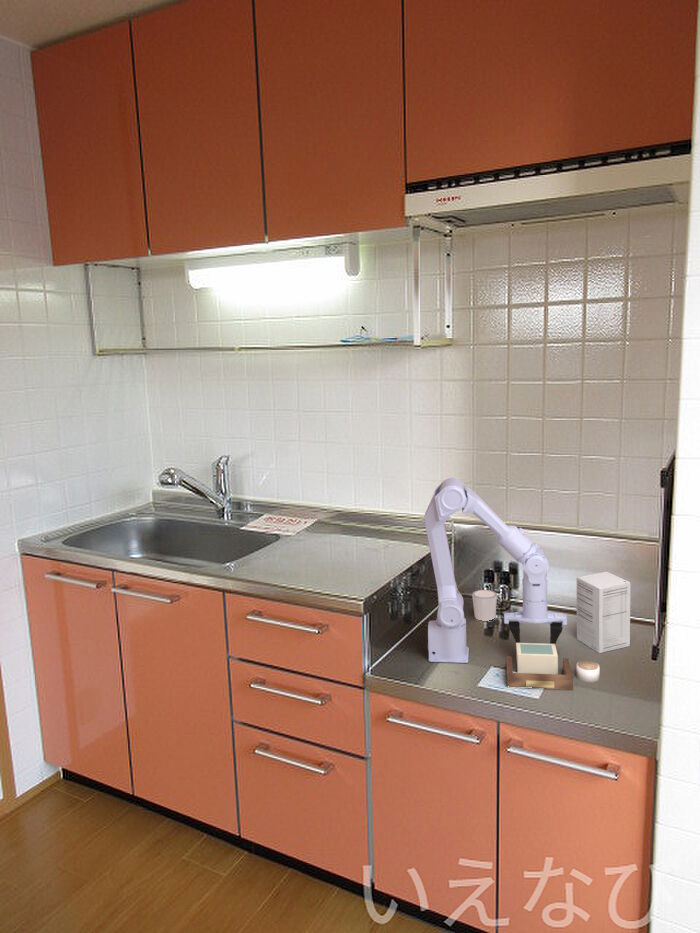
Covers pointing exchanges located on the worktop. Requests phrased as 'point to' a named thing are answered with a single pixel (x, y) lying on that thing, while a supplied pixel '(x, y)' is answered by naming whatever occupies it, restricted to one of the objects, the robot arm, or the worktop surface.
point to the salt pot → (588, 671)
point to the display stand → (540, 678)
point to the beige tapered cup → (484, 604)
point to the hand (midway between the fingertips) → (535, 650)
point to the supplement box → (603, 611)
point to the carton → (536, 658)
